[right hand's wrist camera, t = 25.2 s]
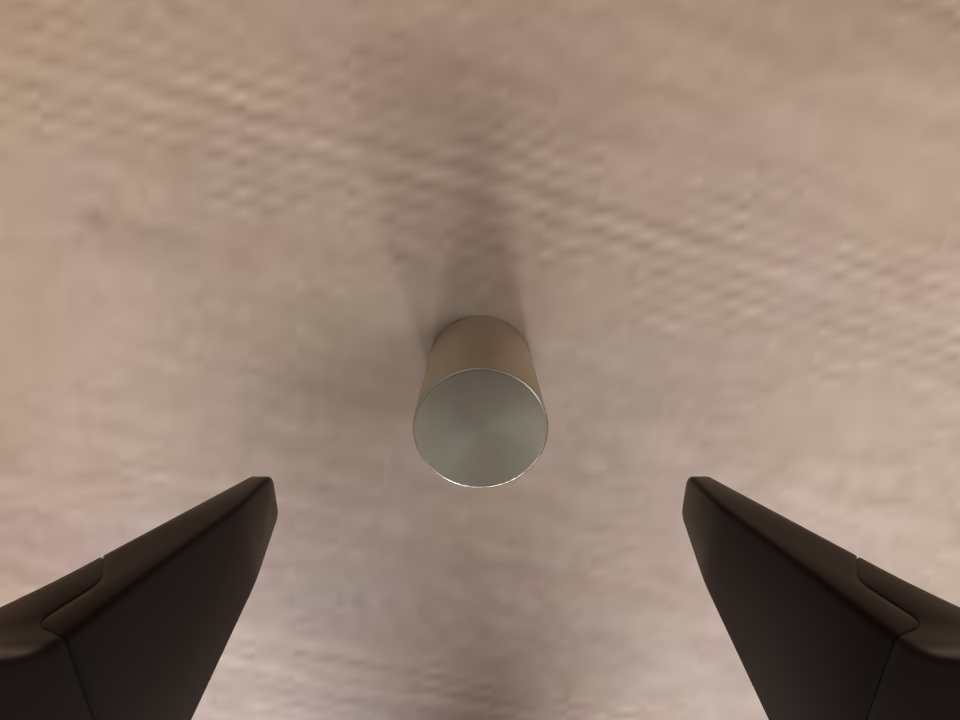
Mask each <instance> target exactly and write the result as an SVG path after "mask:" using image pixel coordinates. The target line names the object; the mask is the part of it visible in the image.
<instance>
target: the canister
mask: <svg viewBox="0 0 960 720" xmlns="http://www.w3.org/2000/svg"><path fill="white" fill-rule="evenodd" d="M413 435H414V440H415V444H416V446H417V449H418V451H419V453H420V455H421V457H422V458H423V459H424V461H425V462H426V463H427V465H428V466H429V467H430V468H431V469H432V470H433V471H434V472H436V473H437V474H438V475H439V476H441V477H443V478H444V479H446V480H448V481H450V482H453V483H455V484H458V485H461V486H466V487H472V488H489V487H496V486H499V485H503V484H506V483H508V482H511V481H513V480H515V479H517V478H519V477H520V476H521V475H523V474H524V473H526V472H527V471H528V470H529V469H530V468H531V467H532V466H533V465H534V463H535V462H536V461H537V460H538V458H539V457H540V455H541V453H542V451H543V449H544V447H545V444H546V440H547V435H548V419H547V414H546V410H545V406H544V403H543V399H542V395H541V391H540V388H539V384H538V380H537V377H536V373H535V369H534V365H533V362H532V358H531V354H530V351H529V348H528V346H527V343H526V341H525V340H524V338H523V337H522V336H521V334H520V333H519V332H518V331H517V330H516V329H515V328H514V327H512V326H511V325H509V324H508V323H506V322H504V321H502V320H499V319H496V318H492V317H487V316H474V317H468V318H465V319H461V320H459V321H457V322H455V323H453V324H452V325H450V326H449V327H447V328H446V329H445V330H444V331H443V332H442V333H441V334H440V335H439V337H438V338H437V339H436V341H435V343H434V345H433V347H432V350H431V353H430V357H429V361H428V365H427V368H426V372H425V376H424V380H423V383H422V387H421V391H420V395H419V399H418V402H417V406H416V410H415V414H414V419H413Z"/></svg>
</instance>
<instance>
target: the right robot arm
mask: <svg viewBox="0 0 960 720" xmlns="http://www.w3.org/2000/svg"><path fill="white" fill-rule="evenodd" d="M277 513H278V510H277V503H276V496H275V490H274V484H273V481H272V479H271V478H270V477H250V478H248V479H246V480H244V481H243V482H241V483H239V484H237V485H235V486H233V487H231V488H229V489H228V490H226V491H224V492H222V493H220V494H218V495H216V496H214V497H213V498H211V499H209V500H207V501H205V502H203V503H201V504H199V505H198V506H196V507H194V508H192V509H190V510H188V511H186V512H185V513H183V514H181V515H179V516H177V517H175V518H173V519H171V520H170V521H168V522H166V523H164V524H162V525H160V526H158V527H156V528H155V529H153V530H151V531H149V532H147V533H145V534H143V535H141V536H140V537H138V538H136V539H134V540H132V541H130V542H128V543H126V544H125V545H123V546H121V547H119V548H117V549H115V550H113V551H112V552H110V553H108V554H106V555H104V557H103V558H98V559H96V560H94V561H93V562H91V563H89V564H87V565H85V566H83V567H81V568H80V569H78V570H76V571H74V572H72V573H70V574H68V575H66V576H64V577H62V578H60V579H58V580H56V581H54V582H52V583H50V584H48V585H46V586H44V587H42V588H40V589H38V590H36V591H34V592H32V593H30V594H28V595H25V596H23V597H21V598H19V599H17V600H15V601H13V602H11V603H9V604H6V605H4V606H2V607H0V720H191V719H192V717H193V715H194V712H195V710H196V708H197V706H198V704H199V702H200V700H201V697H202V695H203V693H204V691H205V689H206V687H207V685H208V683H209V680H210V678H211V676H212V674H213V672H214V670H215V668H216V666H217V663H218V661H219V659H220V657H221V655H222V653H223V651H224V648H225V646H226V644H227V642H228V640H229V638H230V636H231V634H232V631H233V629H234V627H235V625H236V623H237V621H238V619H239V617H240V614H241V612H242V610H243V608H244V606H245V604H246V602H247V599H248V597H249V595H250V593H251V591H252V589H253V586H254V584H255V582H256V579H257V576H258V574H259V571H260V568H261V565H262V562H263V559H264V556H265V553H266V550H267V547H268V544H269V541H270V538H271V535H272V532H273V529H274V526H275V523H276V520H277ZM682 513H683V520H684V523H685V526H686V529H687V532H688V535H689V538H690V541H691V544H692V547H693V550H694V553H695V556H696V559H697V562H698V565H699V568H700V571H701V574H702V576H703V579H704V582H705V584H706V586H707V589H708V591H709V593H710V595H711V597H712V600H713V602H714V604H715V606H716V608H717V610H718V612H719V614H720V617H721V619H722V621H723V623H724V625H725V627H726V629H727V631H728V634H729V636H730V638H731V640H732V642H733V644H734V646H735V649H736V651H737V653H738V655H739V657H740V659H741V661H742V663H743V666H744V668H745V670H746V672H747V674H748V676H749V678H750V680H751V683H752V685H753V687H754V689H755V691H756V693H757V695H758V697H759V700H760V702H761V704H762V706H763V708H764V710H765V712H766V715H767V717H768V719H769V720H960V607H958V606H956V605H953V604H951V603H949V602H947V601H945V600H943V599H941V598H939V597H937V596H935V595H932V594H930V593H928V592H926V591H924V590H922V589H920V588H918V587H916V586H914V585H912V584H910V583H908V582H906V581H904V580H902V579H900V578H898V577H896V576H894V575H892V574H890V573H888V572H886V571H884V570H882V569H880V568H879V567H877V566H875V565H873V564H871V563H869V562H867V561H866V560H864V559H862V558H857V557H856V555H854V554H852V553H850V552H849V551H847V550H845V549H843V548H841V547H839V546H837V545H835V544H834V543H832V542H830V541H828V540H826V539H824V538H822V537H820V536H819V535H817V534H815V533H813V532H811V531H809V530H807V529H805V528H804V527H802V526H800V525H798V524H796V523H794V522H792V521H790V520H789V519H787V518H785V517H783V516H781V515H779V514H777V513H775V512H774V511H772V510H770V509H768V508H766V507H764V506H762V505H761V504H759V503H757V502H755V501H753V500H751V499H749V498H747V497H746V496H744V495H742V494H740V493H738V492H736V491H734V490H732V489H731V488H729V487H727V486H725V485H723V484H721V483H719V482H717V481H716V480H714V479H712V478H710V477H690V478H689V479H688V481H687V484H686V490H685V496H684V503H683V510H682Z"/></svg>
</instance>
